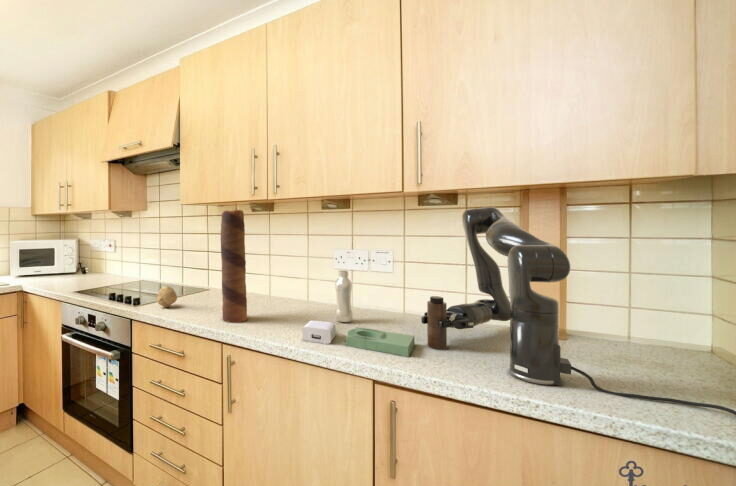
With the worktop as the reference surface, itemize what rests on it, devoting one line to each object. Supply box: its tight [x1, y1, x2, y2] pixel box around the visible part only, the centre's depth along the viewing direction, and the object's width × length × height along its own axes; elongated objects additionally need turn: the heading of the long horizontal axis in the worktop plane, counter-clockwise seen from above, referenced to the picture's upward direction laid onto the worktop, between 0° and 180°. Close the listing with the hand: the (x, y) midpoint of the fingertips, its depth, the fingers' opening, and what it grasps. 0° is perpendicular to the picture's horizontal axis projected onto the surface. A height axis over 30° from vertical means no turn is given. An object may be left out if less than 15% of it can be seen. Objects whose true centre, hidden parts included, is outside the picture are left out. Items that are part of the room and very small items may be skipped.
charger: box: [301, 320, 337, 345], centre depth 125 cm, size 5×9×15 cm
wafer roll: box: [220, 209, 248, 323], centre depth 147 cm, size 10×11×45 cm
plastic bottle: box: [334, 270, 354, 323], centre depth 143 cm, size 6×7×20 cm
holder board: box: [345, 326, 416, 358], centre depth 116 cm, size 19×12×3 cm, turn 55°
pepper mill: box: [426, 295, 448, 351], centre depth 113 cm, size 5×5×16 cm
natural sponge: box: [156, 285, 178, 308], centre depth 171 cm, size 9×9×10 cm
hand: (431, 322), depth 112 cm, fingers closed on pepper mill, 5 cm apart
